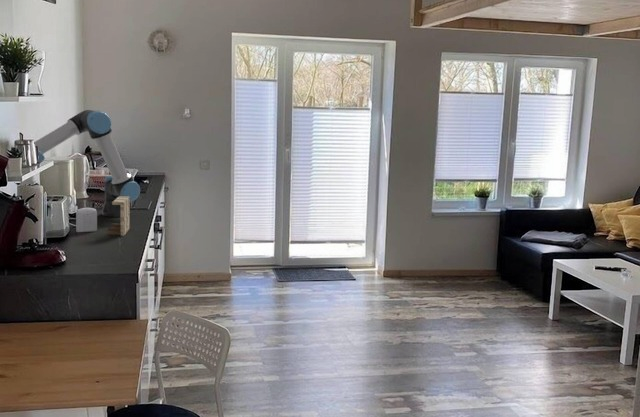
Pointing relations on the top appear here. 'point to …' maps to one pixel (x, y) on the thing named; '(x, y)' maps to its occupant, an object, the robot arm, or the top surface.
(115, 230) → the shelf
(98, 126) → the robot arm
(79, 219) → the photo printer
